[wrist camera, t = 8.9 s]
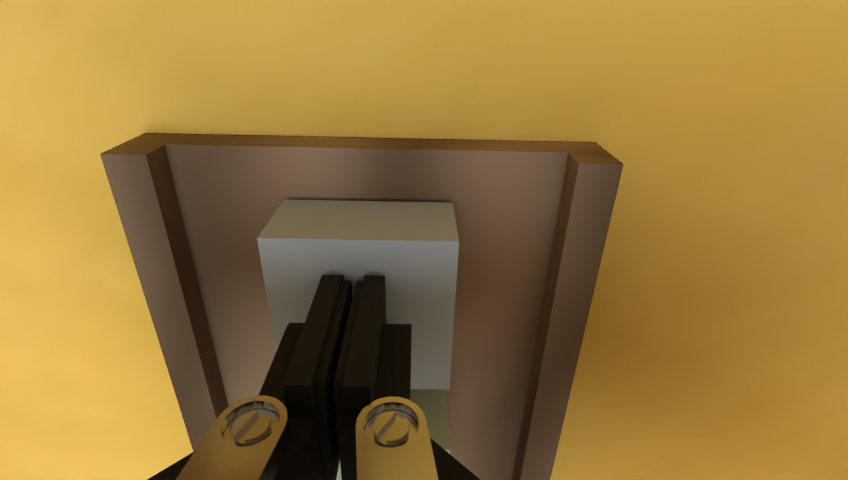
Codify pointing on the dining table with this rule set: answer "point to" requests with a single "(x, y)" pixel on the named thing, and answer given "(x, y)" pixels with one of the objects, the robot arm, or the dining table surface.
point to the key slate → (369, 268)
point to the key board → (394, 182)
